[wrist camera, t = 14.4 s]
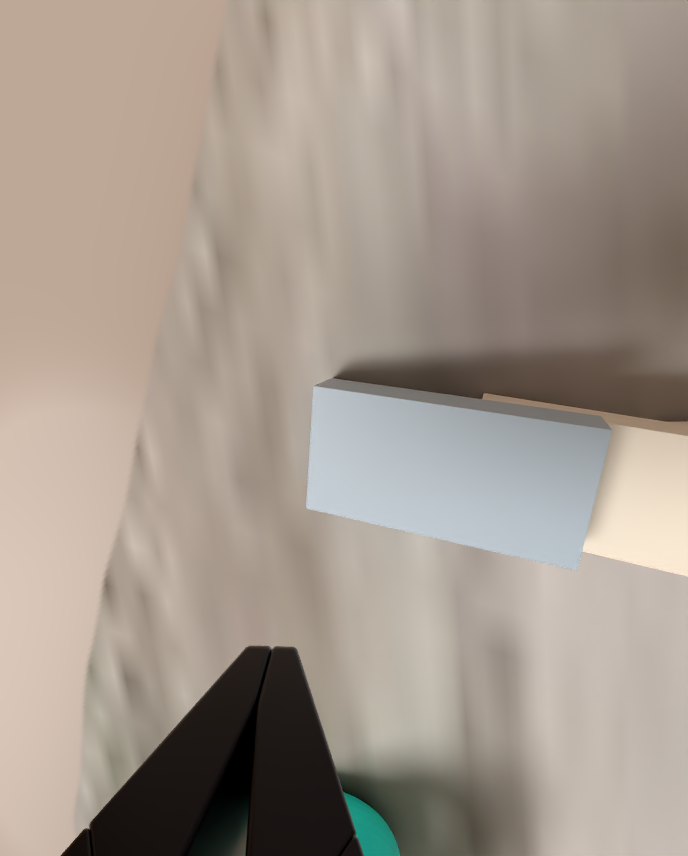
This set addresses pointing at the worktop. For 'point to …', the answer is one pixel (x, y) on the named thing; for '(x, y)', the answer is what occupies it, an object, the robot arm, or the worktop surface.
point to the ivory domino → (638, 491)
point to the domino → (457, 468)
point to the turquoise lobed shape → (371, 829)
